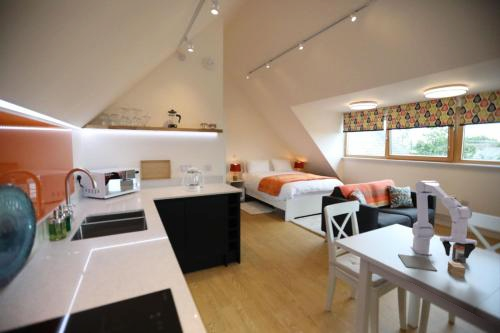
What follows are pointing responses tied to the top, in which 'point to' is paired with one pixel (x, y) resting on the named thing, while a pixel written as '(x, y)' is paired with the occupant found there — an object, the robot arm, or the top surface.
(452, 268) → the wooden cube
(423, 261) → the charcoal mat
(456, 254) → the supplement bottle
